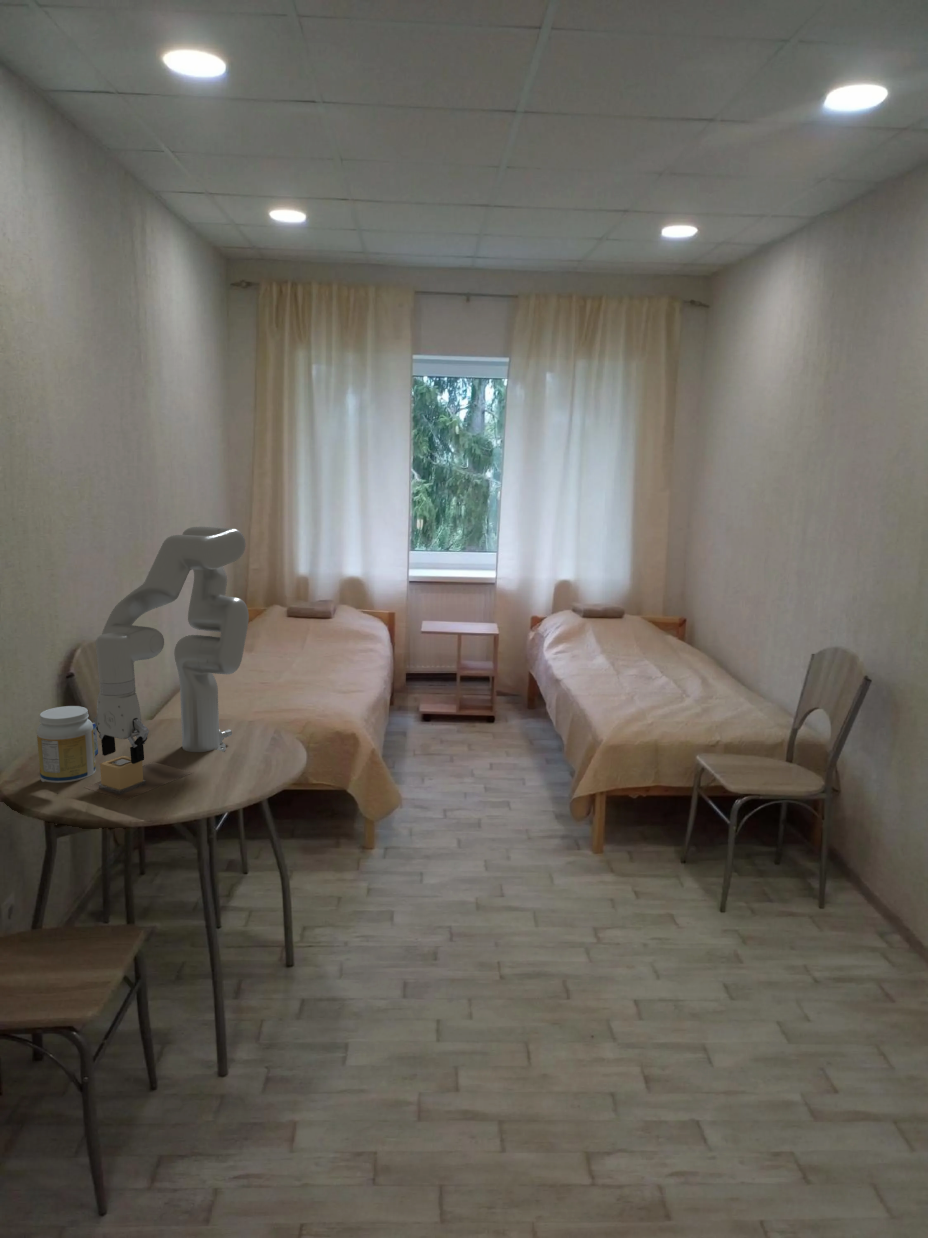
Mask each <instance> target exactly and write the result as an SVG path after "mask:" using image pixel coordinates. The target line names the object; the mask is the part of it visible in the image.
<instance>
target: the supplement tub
mask: <svg viewBox="0 0 928 1238" xmlns="http://www.w3.org/2000/svg"><path fill="white" fill-rule="evenodd" d="M89 716H90V715H89V712H88V708H87V707H83V706H80V705H66V706H57V707H53V708H48V709H46V710H43V711H42V712H40V714H39V723H40V724H39V725H38V726H37V730H36V739H37V752H38V753H37V754H38V764H39V774H40V775H39V777H40V778H39V779H40V780H41V782H42V783H45V782H47V783H59V784H60V783H71V782H75V781H76V782H77V781H80V780H83V779H86V778H89V777H91V776H93V775H94V774H95V773H96V772H97V769H96V755H95V751H94V735H93V724H92V723H93V722H92V721H91V720H90V719H89Z"/></svg>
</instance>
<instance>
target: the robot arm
mask: <svg viewBox="0 0 928 1238" xmlns="http://www.w3.org/2000/svg"><path fill="white" fill-rule="evenodd" d="M246 545H247V544H246V539H245V537H244V535H243V533H242V532H241V531H240V530H239V529H236V528H232V527H214V526H193V527H188V528H186V529H185V530H184V531H183V532H182V534H173V535H170V536H168V537H167V538H166V539H164V541H163V542H162V544H161V546H160V548H159V551H158V552H157V554H156V557H155V559H154V561H153V563H152V565H151V567H150V569H149V571H148V573H147V576H146V578H145V580H144V582H143V583H142V584H141V585H139V586H138V587H136V588H135V589H134V590H132V591H131V592H129V594H127V595H126V596H125V597H123V598H122V599H121V600H120V601H119V602H118V603H117V604H116V605H115V606H114V607H113V609H112V610H111V612H110V614H109V616H108V618H107V620H106V621H105V625H104V627H103V629H102V633H101V635H99V636H97V638H96V640H95V646H96V647H95V650H96V660H97V672H98V683H99V686H98V687H99V692H98V694H97V701H96V716H95V717H93V723H95V725H96V729H97V733H98V736H99V737H98V738H99V739H101V741H100V742H101V752H102V753H101V754H102V756H104V757H106V756H108V755H111V754H114V753H115V752H116V751H117V750H116V739H119V740H128V741H129V743H130V745H131V746H130V747H129V750H130V752H129V753H130V757H131V763H132V764H135V763H138V762H140V761H142V762H143V761H144V760H145V749H144V745H145V744H146V741H147V739H148V735H149V733H150V729H149V728H148V727H147V726H146V725H144V723H142V714H141V708H140V702H139V699H138V693H136V692H137V690H136V688H137V687H136V678H135V664H134V663H135V662H138V661H143V660H150V659H153V658H155V657H157V656H158V655H159V654H160V653H161V652H162V651H163V649H164V646H165V638H164V635H163V634H162V632H160V631H159V630H158V629H156V628H153V627H150V626H141V625H133V624H134V623H135V622H136V621H137V620H138V619H139V618H140V617H141V616H143V615H144V614H146V613H148V612H150V611H152V610H155V609H159V608H161V607H163V606H167V605H168V604H171V603H173V602H175V601H176V600H177V599H178V598H179V596H180V593H181V592H182V589H183V587H184V585H185V583H186V579H187V578H188V576H189V574H190V572H191V571H192V570H193V584H192V589H191V594H190V601H189V606H188V610H187V611H188V612H187V622H188V624H189V626H190V627H192V628H193V629H195V630H199V631H204V632H214V633H220V636H212V635H201V634H200V635H199V634H191V635H190V634H189V635H185V636H183V637H181V638H180V639H179V640H177V642H176V644H175V647H174V651H173V652H174V653H173V654H174V661H175V662H174V663H175V665H176V668H177V673H178V679H179V694H180V695H179V696H180V697H179V699H180V718H181V719H180V722H181V740H182V741H181V742H182V743H181V744H182V745H181V747H182V749H183V751H186V752H190V753H203V752H210V751H213V750H217V751H220V752H223V753H224V752H225V751H226V749H227V747H226V743H225V742H223V740H224V739H225V738H228V737H231V736H233V731H232V730H231V729H230V728H229V729H225V730H223V731H222V730H221V729H220V722H219V721H220V720H219V718H220V717H219V688H218V682H217V680H216V677H215V676H214V674H215V675H216V674H217V675H231V674H234V673H236V672H237V671H238V669H239V668H240V666H241V664H242V661H243V654H244V649H245V645H246V638H247V633H248V632H247V631H248V629H249V628H248V626H249V620H250V613H249V609H248V605H247V604H246V602H245V601H244V600H243V599H242V598H239V597H235V596H227V595H226V594H227V593H226V592H227V586H228V575H227V573H226V571H225V568H224V567H225V566H227V565H230V564H232V563H235V562H237V561H238V560H239V559H240V558H241V557H243V555H244V553H245V550H246ZM134 737H136V740H135V738H134Z"/></svg>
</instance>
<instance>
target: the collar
mask: <svg viewBox="0 0 928 1238" xmlns="http://www.w3.org/2000/svg"><path fill="white" fill-rule="evenodd" d="M121 759H124V760H128V761H131V756H127V755H121V756H117V757H115V758H112V759H109V760H107V761H106V760H105V761H104V762H101V763H99V765H100V781H101V784H103V785H106V786H110V787H113V788H116V789H120V790H121V789H123V788H126V787H128V786H131V785H134V784H136V783H139V782H141V781H143V766H144V765H143V761H140V762H138V763H135V764H132V763H128V764H126V765H123V766H116V765H112V764H111V763H112V762H115V761H118V760H121Z"/></svg>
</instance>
